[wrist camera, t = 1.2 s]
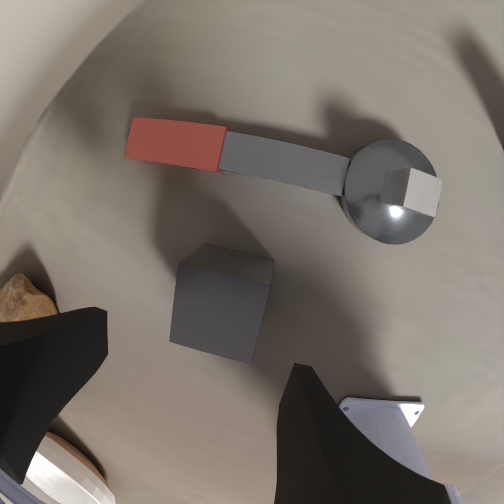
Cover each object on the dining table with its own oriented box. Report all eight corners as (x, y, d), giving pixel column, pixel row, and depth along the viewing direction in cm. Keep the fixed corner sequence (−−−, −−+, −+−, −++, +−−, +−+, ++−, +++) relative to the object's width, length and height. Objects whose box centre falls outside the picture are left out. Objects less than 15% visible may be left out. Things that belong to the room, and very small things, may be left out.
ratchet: (132, 184, 18) (83, 185, 13) (151, 99, 17) (108, 73, 11) (412, 248, 17) (455, 270, 12) (431, 161, 16) (479, 153, 10)
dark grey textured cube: (258, 322, 19) (251, 363, 14) (195, 306, 19) (169, 341, 14) (274, 259, 18) (270, 284, 13) (205, 243, 18) (178, 262, 13)
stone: (-37, 345, 18) (-31, 237, 15) (12, 335, 26) (35, 238, 23) (20, 455, 15) (27, 379, 12) (72, 428, 22) (110, 349, 19)
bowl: (6, 385, 26) (-19, 406, 20) (118, 451, 25) (96, 487, 19) (39, 459, 30) (24, 479, 24) (133, 509, 29) (121, 535, 23)
